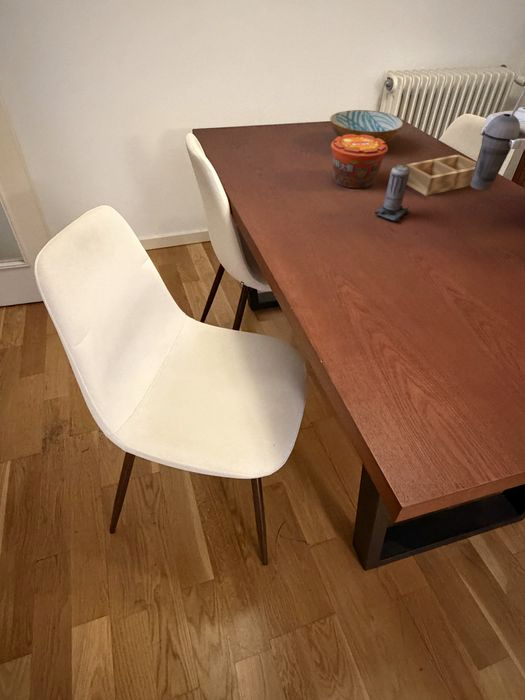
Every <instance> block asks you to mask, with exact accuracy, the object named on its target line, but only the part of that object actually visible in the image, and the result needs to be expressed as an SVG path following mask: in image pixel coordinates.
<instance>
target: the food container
mask: <svg viewBox="0 0 525 700" xmlns="http://www.w3.org/2000/svg"><path fill="white" fill-rule="evenodd" d="M388 148H389V147H388V145H387V143H386V144H385V142H384V141H383V140H381V139H379V138H377V139H375V138H374V137H373V136H369V135H355V134H348V135H343V136H342V137H340V136H339V137H338V136H337V137H336V138H334V139H333V141H331V143H330V149H331V150H332V176H331V178H332V179H331V180H332V181H333V183H335V184H336V185H338V186H340V187H342V188H343V187H344V188H347V189H353V190H356V189H357V190H360V189H368V188H370V187H372V186H374V185H375V183H376V181H377V178H378V174H379V171H380V169H381V166H382V162H383V159H384V156H385V154H386V153H387V152H388V150H389V149H388Z"/></svg>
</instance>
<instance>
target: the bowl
mask: <svg viewBox="0 0 525 700" xmlns="http://www.w3.org/2000/svg"><path fill="white" fill-rule="evenodd" d="M329 121H330V125H331V127H332V130H333V131H334V133H335V135H336V136H337V137H339V136H340V137H342V136H343V135H348V134H355V135H369V136H373V137H374V138H375V139H377V138H379V139H381V140H383V141H384V142H385V144H386V145H387V144H388V143H389V142H390V141H392V140H393V139H394V138H395V137H396V136H397V135H398V134H399V133H400V131H401V130H402V128H403V127H404V126H405V122H404V120H403V119H402V118H400V117H398V116H396V115H394V114H391V113H388V112H383V111H376V110H368V109H349V110H344V111H343V110H342V111H339V112H336V113H334V114H332V115H331V116H330V117H329Z"/></svg>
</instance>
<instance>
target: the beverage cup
mask: <svg viewBox="0 0 525 700" xmlns="http://www.w3.org/2000/svg"><path fill="white" fill-rule="evenodd" d="M524 96H525V90H523V91H522V93H521V95H520V97H519V99H518V100H517V102H516V104H515V106H514V108H513V110H512V111H513V112H512V114H502V115H499V116H497V117H495V118H494V119H493V120H492V121H491V122H490V123H489V124H488V126H487V127H486V129H485V131H484V132H483V134H484V135H483V136H482V138H481V139H482V140H481V146H480V149H479V153H478V156H477V160H476V166H475V170H474V173H473V177H472V181H471V186H470V187H471V188H473V189H474V190H478V191H489V190H491V187H492V185H493V184H494V182H495V181H496V179H497V176H498V175H499V174H500V171H501V169H502V167H503V165H504V164H505V162H506V159H507V157H508V155H509V153H510V151H511V150H512V149H511V148H509V147H507V145H508V144H509V140H510V139H511V138H518V136H519V132H520V123H519V120H518V119H517V118H516V117H515V116H514V113H515V111H517V110H518V108H519V106H520V104H521V102H522V100H523V99H524Z"/></svg>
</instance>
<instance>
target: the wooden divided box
mask: <svg viewBox="0 0 525 700" xmlns="http://www.w3.org/2000/svg"><path fill="white" fill-rule="evenodd" d="M476 163H477V161H474V160H472V159H470V158H467V157H465V156H463V155H460V154H453V155H448V156H442V157H438V158H432V159H428V160H427V159H426V160H422V161H417V162H411V163H407V164H405V165H404V167H407V168H409V172H410V173H409V177H408V181H407V185H406V186H408V187H410V188H411V189H413V190H415V191H416V192H418V193H420V194H422V195H423V196H425V197H427V196H432V195H435V194H440V193H445V192H448V191H453V190H457V189H462V188H466V187H471V181H472V177H473V173H474V170H475V166H476Z"/></svg>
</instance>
